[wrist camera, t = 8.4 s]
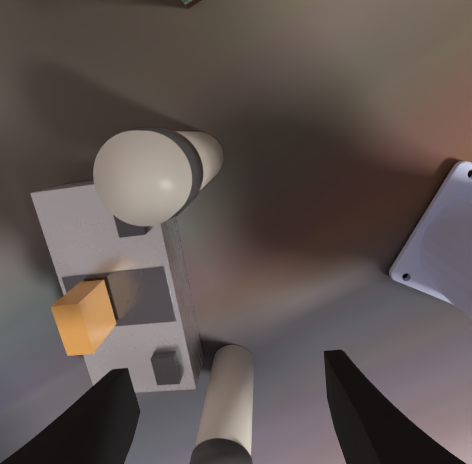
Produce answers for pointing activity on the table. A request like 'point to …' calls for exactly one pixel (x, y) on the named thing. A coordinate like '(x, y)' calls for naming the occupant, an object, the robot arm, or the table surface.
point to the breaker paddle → (84, 317)
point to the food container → (190, 2)
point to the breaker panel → (126, 286)
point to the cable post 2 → (227, 410)
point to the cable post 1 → (154, 172)
